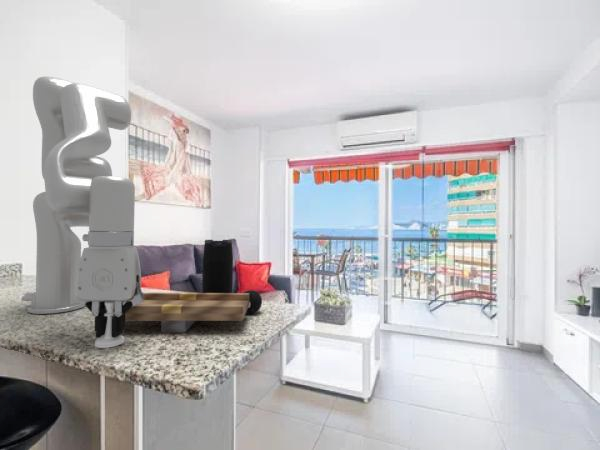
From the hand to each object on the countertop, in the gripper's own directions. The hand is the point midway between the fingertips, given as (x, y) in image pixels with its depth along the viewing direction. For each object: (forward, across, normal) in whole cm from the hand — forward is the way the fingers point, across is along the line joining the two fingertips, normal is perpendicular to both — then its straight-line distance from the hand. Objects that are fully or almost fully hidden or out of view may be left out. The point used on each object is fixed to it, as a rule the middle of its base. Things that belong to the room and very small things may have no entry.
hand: (110, 334), depth 60 cm
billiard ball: (+2, +25, +21) cm, 33 cm away
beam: (+2, +10, +11) cm, 15 cm away
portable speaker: (+2, +15, +27) cm, 31 cm away
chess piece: (+2, 0, 0) cm, 2 cm away
